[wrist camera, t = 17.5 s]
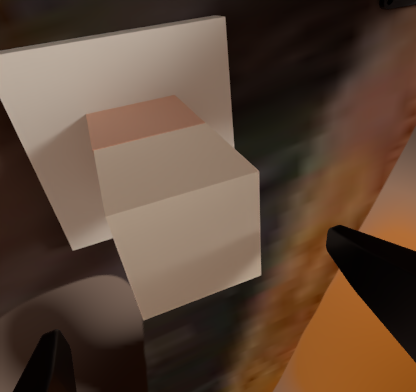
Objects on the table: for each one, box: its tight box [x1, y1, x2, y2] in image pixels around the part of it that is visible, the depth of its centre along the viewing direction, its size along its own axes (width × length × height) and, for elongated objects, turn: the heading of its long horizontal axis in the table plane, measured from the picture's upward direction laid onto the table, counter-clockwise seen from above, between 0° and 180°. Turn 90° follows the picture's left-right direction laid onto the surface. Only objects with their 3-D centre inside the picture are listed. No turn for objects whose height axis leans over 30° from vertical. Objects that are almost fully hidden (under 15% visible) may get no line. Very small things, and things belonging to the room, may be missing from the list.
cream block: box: [93, 123, 261, 320], centre depth 13 cm, size 5×5×5 cm
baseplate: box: [0, 15, 234, 251], centre depth 20 cm, size 12×12×2 cm
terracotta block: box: [86, 95, 205, 154], centre depth 17 cm, size 5×5×5 cm
